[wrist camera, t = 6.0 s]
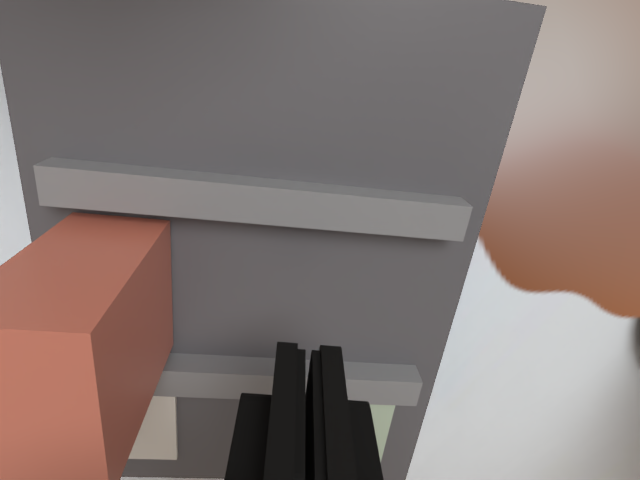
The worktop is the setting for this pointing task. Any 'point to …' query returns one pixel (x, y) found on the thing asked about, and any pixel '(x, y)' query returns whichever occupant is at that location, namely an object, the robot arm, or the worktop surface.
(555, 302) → the worktop surface
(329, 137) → the breaker panel
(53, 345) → the handle
